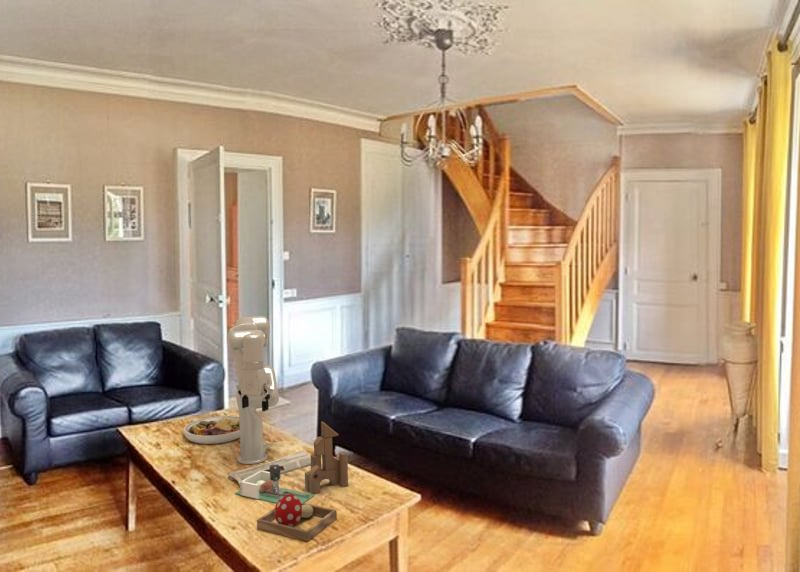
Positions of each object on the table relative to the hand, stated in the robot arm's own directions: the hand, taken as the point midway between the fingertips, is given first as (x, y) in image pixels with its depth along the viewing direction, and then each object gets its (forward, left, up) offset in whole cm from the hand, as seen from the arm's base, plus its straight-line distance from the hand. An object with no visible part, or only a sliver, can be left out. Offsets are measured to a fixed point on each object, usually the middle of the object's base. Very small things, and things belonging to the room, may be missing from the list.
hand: (255, 408), depth 244 cm
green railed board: (+9, +15, -28) cm, 33 cm away
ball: (+9, +9, -26) cm, 29 cm away
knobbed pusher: (+9, +16, -28) cm, 34 cm away
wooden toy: (-5, +29, -29) cm, 41 cm away
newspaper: (-10, 0, -29) cm, 31 cm away
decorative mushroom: (+24, +36, -29) cm, 52 cm away
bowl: (-34, -52, -29) cm, 68 cm away
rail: (+9, +20, -28) cm, 36 cm away
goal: (+9, +8, -28) cm, 31 cm away
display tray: (+24, +36, -28) cm, 52 cm away
